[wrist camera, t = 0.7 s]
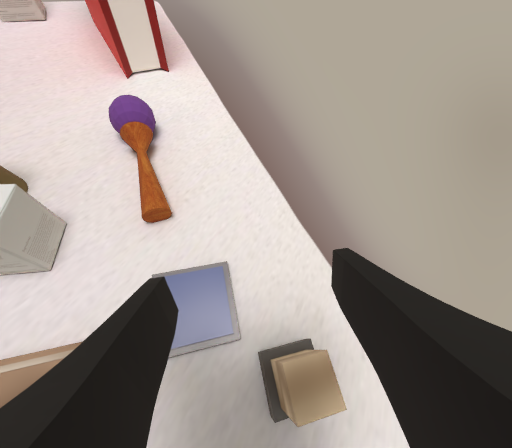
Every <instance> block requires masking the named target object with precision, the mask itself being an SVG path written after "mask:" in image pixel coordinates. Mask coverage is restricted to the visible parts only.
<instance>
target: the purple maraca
mask: <svg viewBox="0 0 512 448" xmlns="http://www.w3.org/2000/svg"><path fill="white" fill-rule="evenodd" d="M109 118H110V122H111V124H112V126H113V128H114V129H115V130H116V131H117V132H118V133H120V135H121V137H122V139H123V140H124V141H125V142H126V143H127V144H128V145H129V146H130V147H131V148H132V149H133V150H134V151H135V152H136V153H137V157H138V171H139V184H140V197H141V210H142V219H143V220H144V221H146V222H151V223H154V222H158V221H161V220H165V219H168V218H169V217H170V216H171V214H172V212H171V210H170V207H169V205H168V203H167V200H166V198H165V196H164V193H163V191H162V189H161V186H160V184H159V182H158V179H157V177H156V175H155V172H154V170H153V168H152V165H151V163H150V161H149V158H148V156H147V154H146V152H147V149H148V147H149V145H150V143H151V140H152V138H153V131H154V128H155V123H156V121H155V118H154V115H153V112H152V109H151V108H150V107H149V106H148V105H147V103H145V102H144V101H143V100H141V99H139V98H138V97H136V96H131V95H122V96H119V97H117V98H116V99H114V101H113V102H112V104H111V105H110V107H109Z"/></svg>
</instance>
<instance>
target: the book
mask: <svg viewBox="0 0 512 448" xmlns="http://www.w3.org/2000/svg"><path fill="white" fill-rule="evenodd" d="M85 1H86V4H87V6H88V9H89V11H90V14H91V16H92V18H93V21H94V23H95V25H96V26H97V28H98V30H99V31H100V33H101V35H102V36H103V38H104V40H105V42H106V43H107V45H108V47H109V48H110V50H111V52H112V53H113V55H114V57H115V58H116V60H117V62H118V63H119V65H120V67H121V68H122V70H123V72H124V74H125V75H126V77H127V79H128V78H129V77H130V75H131V74H132V73H133V72H139V71H145V70H151V69H157V68H162V69H164V70H166V71H168V66H167V61H166V57H165V52H164V48H163V43H162V38H161V34H160V29H159V24H158V20H157V15H156V10H155V6H154V1H153V0H85ZM168 72H169V71H168Z"/></svg>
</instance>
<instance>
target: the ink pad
mask: <svg viewBox="0 0 512 448" xmlns="http://www.w3.org/2000/svg"><path fill="white" fill-rule="evenodd" d="M163 276H164V277H165V279H166V282H167V284H168V286H169V289H170V291H171V293H172V296H173V298H174V300H175V303H176V305H177V307H178V310H179V312H178V319H177V325H176V331H175V336H174V339H173V343H172V347H171V350H170V354H169V357H173V356H177V355H181V354H185V353H189V352H193V351H197V350H200V349H204V348H208V347H212V346H216V345H220V344H224V343H228V342H232V341H235V340H239V339H241V338H240V332H239V326H238V321H237V315H236V309H235V303H234V298H233V292H232V286H231V280H230V275H229V269H228V263H227V262H221V263H215V264H210V265H204V266H199V267H193V268H188V269H182V270H176V271H171V272H165V273H160V274H154V275H152V278H156V277H163ZM169 357H168V358H169Z"/></svg>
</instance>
